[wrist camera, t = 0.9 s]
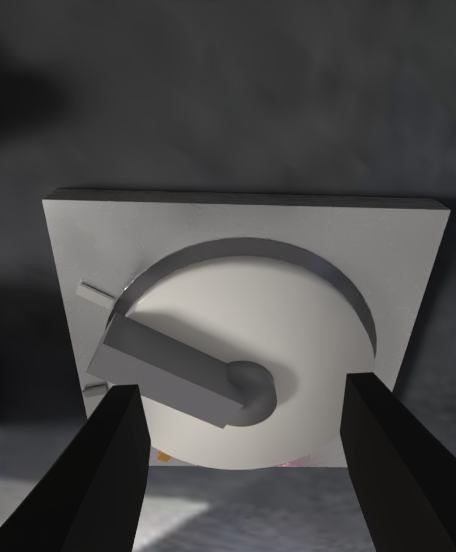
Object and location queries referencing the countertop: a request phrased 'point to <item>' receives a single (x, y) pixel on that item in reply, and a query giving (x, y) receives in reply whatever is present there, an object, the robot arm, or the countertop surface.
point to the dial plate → (242, 242)
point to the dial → (237, 361)
